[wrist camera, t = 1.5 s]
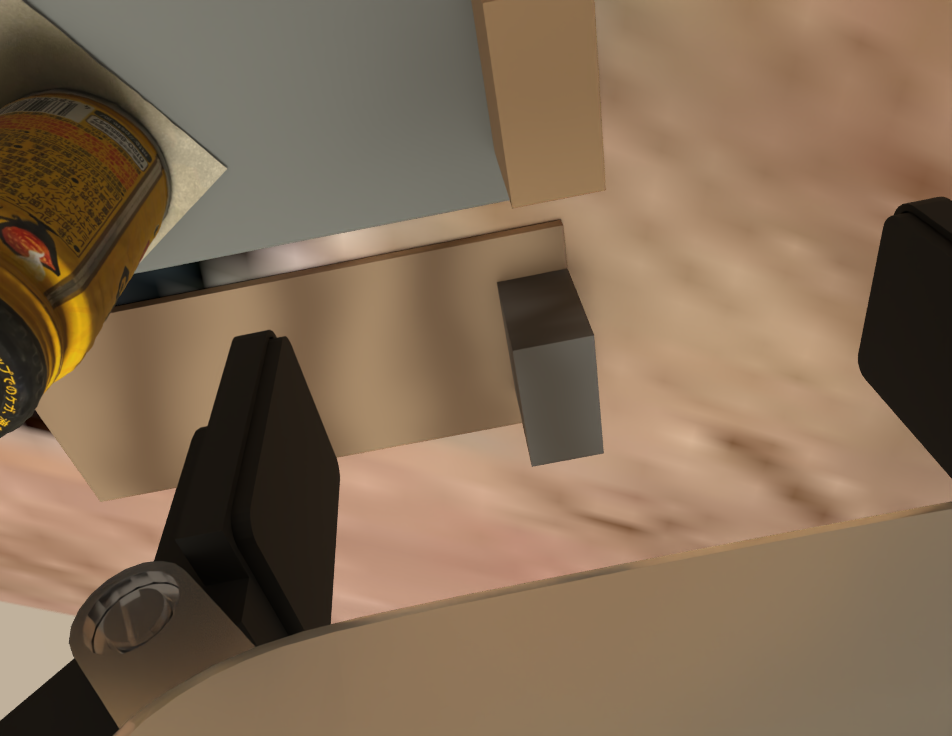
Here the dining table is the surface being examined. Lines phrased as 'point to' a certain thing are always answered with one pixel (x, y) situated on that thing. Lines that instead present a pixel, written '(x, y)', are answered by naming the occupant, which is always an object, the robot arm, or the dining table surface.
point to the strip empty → (348, 358)
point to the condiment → (75, 200)
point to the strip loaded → (355, 107)
